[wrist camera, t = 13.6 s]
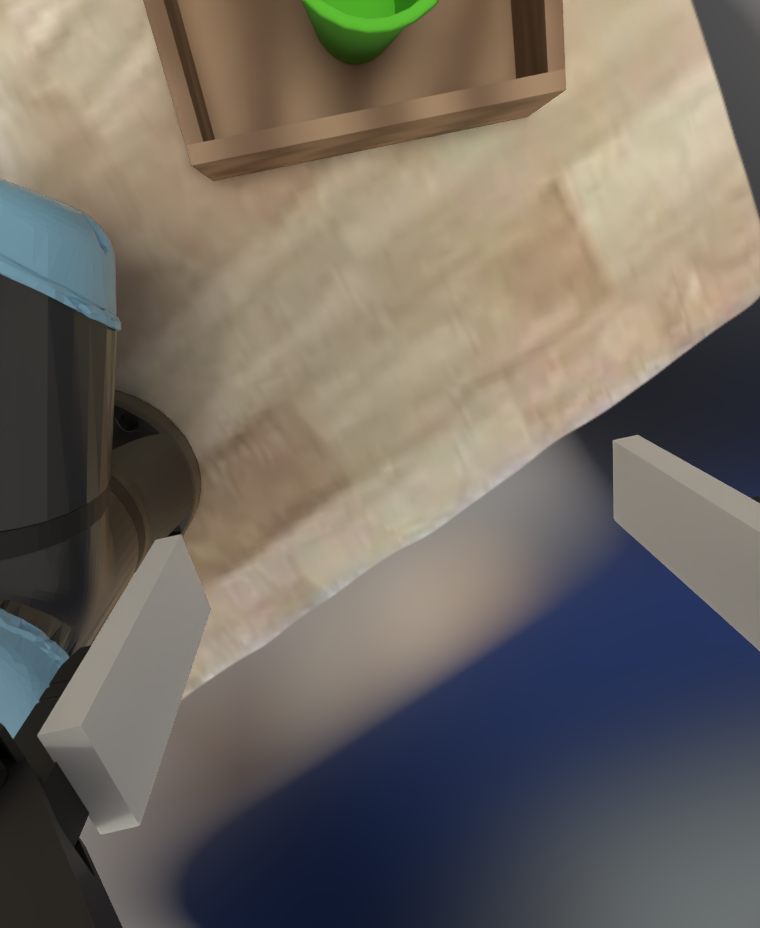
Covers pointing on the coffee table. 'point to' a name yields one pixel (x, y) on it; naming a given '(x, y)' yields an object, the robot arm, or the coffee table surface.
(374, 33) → the cup
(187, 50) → the tray
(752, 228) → the coffee table surface
